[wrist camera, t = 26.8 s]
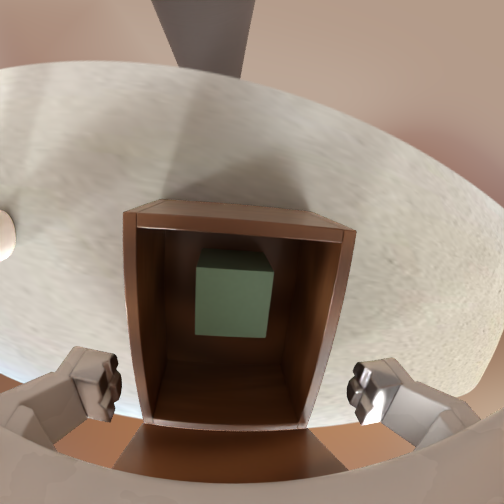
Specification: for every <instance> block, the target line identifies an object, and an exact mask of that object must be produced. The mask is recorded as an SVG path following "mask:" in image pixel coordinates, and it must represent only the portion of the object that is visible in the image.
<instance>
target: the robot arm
mask: <svg viewBox="0 0 504 504" xmlns="http://www.w3.org/2000/svg"><path fill="white" fill-rule="evenodd" d="M117 366H118V360H117V356H116V355H115V354H113V353H107V352H103V351H98V350H93V349H87V348H83V347H79V346H75V347H73V348H72V350H71V351H70V352H69V354H68V355H67V357H66V358H65V359H64V361H63V362H62V364H61V365H60V366H59V368H58V369H57V371H56V372H55V373H54V372H50V373H48V374H45V375H43V376H41V377H38V378H36V379H34V380H32V381H29V382H27V383H24V384H22V385H20V386H17V387H15V388H13V389H10V390H8V391H6V392H3V393H1V394H0V504H504V407H502V408H500V409H499V410H497V411H496V412H494V413H492V414H491V415H489V416H487V417H486V418H484V419H482V420H481V419H480V418H479V417H478V415H477V414H476V413H475V412H474V411H473V410H472V409H471V407H470V406H469V405H468V404H467V403H466V402H464V401H462V400H460V399H458V398H455V397H453V396H451V395H448V394H446V393H444V392H441V391H439V390H437V389H434V388H432V387H430V386H427V385H425V384H423V383H421V382H418V381H417V382H415V381H414V380H413V379H412V378H411V377H410V375H409V374H408V373H407V372H406V371H405V369H404V368H403V367H402V366H401V365H400V364H399V362H398V361H397V360H396V359H394V358H386V359H381V360H374V361H365V362H357V364H356V365H355V367H354V369H353V373H354V375H355V376H354V377H353V378H352V379H351V380H349V383H348V386H347V398H348V401H349V403H350V405H352V406H354V407H355V408H356V410H355V414H356V416H357V418H358V420H359V422H360V424H361V425H366V424H371V423H377V422H381V423H382V424H384V425H385V426H387V427H388V428H389V429H391V430H392V431H394V432H395V433H397V434H398V435H399V436H401V437H402V438H404V439H405V440H407V441H408V442H409V443H411V444H412V445H414V446H415V447H416V448H415V449H414V451H413V452H411V453H408V454H405V455H402V456H399V457H396V458H393V459H390V460H387V461H384V462H380V463H377V464H373V465H370V466H366V467H362V468H358V469H354V470H350V471H345V472H340V473H336V474H330V475H325V476H319V477H313V478H306V479H299V480H290V481H280V482H267V483H240V484H228V483H201V482H188V481H178V480H169V479H162V478H155V477H149V476H143V475H138V474H132V473H128V472H123V471H119V470H114V469H110V468H106V467H103V466H99V465H95V464H92V463H88V462H85V461H82V460H79V459H76V458H73V457H70V456H67V455H64V454H62V453H59V452H57V450H56V448H55V447H54V445H53V444H55V443H56V442H57V441H59V440H60V439H61V438H63V437H64V436H65V435H67V434H68V433H69V432H71V431H72V430H73V429H75V428H76V427H77V426H79V425H80V424H81V423H83V422H84V421H85V420H87V418H91V419H96V420H100V421H105V422H111V419H112V417H113V414H114V411H115V406H114V402H116V401H117V400H119V398H120V395H121V389H122V379H121V374H120V373H119V372H118V371H117V370H116V368H117Z"/></svg>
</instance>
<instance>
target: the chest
mask: <svg viewBox="0 0 504 504" xmlns="http://www.w3.org/2000/svg"><path fill="white" fill-rule="evenodd" d="M355 238H356V230H353V229H351V228H349V227H346V226H344V225H342V224H339V223H337V222H335V221H332V220H330V219H328V218H325V217H323V216H320V215H318V214H316V213H313V212H311V211H302V210H293V209H283V208H273V207H263V206H252V205H241V204H229V203H216V202H202V201H186V200H168V199H159V200H156V201H153V202H150V203H147V204H145V205H142V206H139V207H136V208H133V209H131V210H128V211H125V212H123V266H124V287H125V302H126V313H127V324H128V333H129V341H130V349H131V356H132V363H133V369H134V375H135V381H136V387H137V392H138V397H139V402H140V407H141V412H142V416H143V420H144V423H148V424H155V425H163V426H170V427H179V428H190V429H203V430H224V431H266V430H287V429H296V428H297V429H300V428H306V427H307V424H308V421H309V418H310V416H311V413H312V410H313V407H314V404H315V401H316V398H317V395H318V392H319V389H320V385H321V382H322V379H323V376H324V372H325V369H326V366H327V362H328V359H329V355H330V352H331V348H332V344H333V341H334V337H335V333H336V329H337V325H338V321H339V317H340V313H341V308H342V304H343V300H344V295H345V291H346V286H347V281H348V276H349V271H350V266H351V261H352V255H353V250H354V244H355ZM202 248H209V249H223V250H238V251H253V252H264V254H265V256H266V258H267V259H268V261H269V263H270V265H271V267H272V269H273V271H274V278H273V286H272V293H271V301H270V309H269V316H268V324H267V331H266V337H265V338H252V337H227V336H209V335H195V288H196V266H197V263H198V260H199V257H200V253H201V250H202Z"/></svg>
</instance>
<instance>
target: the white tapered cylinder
mask: <svg viewBox="0 0 504 504" xmlns="http://www.w3.org/2000/svg"><path fill="white" fill-rule="evenodd" d="M15 243H16V232H15V227H14V224H13V221H12V219H11V218H10V216H9V215H8V214H7V213H6V212H5V211H3V210H0V262H1V261H3V260H5V259H6V258H8V257H9V256H10V255H11V254H12V252H13V250H14V247H15Z"/></svg>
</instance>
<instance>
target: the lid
mask: <svg viewBox="0 0 504 504" xmlns="http://www.w3.org/2000/svg"><path fill="white" fill-rule="evenodd" d="M112 469H114V470H119V471H123V472H128V473H132V474H138V475H143V476H149V477H155V478H162V479H169V480H178V481H188V482H201V483H228V484H240V483H267V482H280V481H290V480H299V479H306V478H313V477H319V476H325V475H330V474H336V473H340V472H345V471H349V470H348V469H347V468H346V467H345V466H344V465H343V464H342V463H341V462H340V461H339V460H338V459H337V458H336V457H335V456H334V455H333V454H332V453H331V452H330V451H329V450H328V449H327V448H326V447H325V446H324V445H323V444H322V443H321V442H320V441H319V439H317V437H315V435H314V434H313V433H312V432H311V431H310V430H309V429H308V428H305V429H293V430H278V431H212V430H196V429H185V428H175V427H166V426H159V425H152V424H145V423H143V424H142V425H141V426H140V428H139V429H138V431H137V432H136V434H135V435H134V437H133V438H132V440H131V441H130V442H129V444H128V446H127V447H126V448H125V450H124V451H123V453H122V454H121V456H120V457H119V459H118V460H117V461H116V463H115V464H114V466H113V467H112Z"/></svg>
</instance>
